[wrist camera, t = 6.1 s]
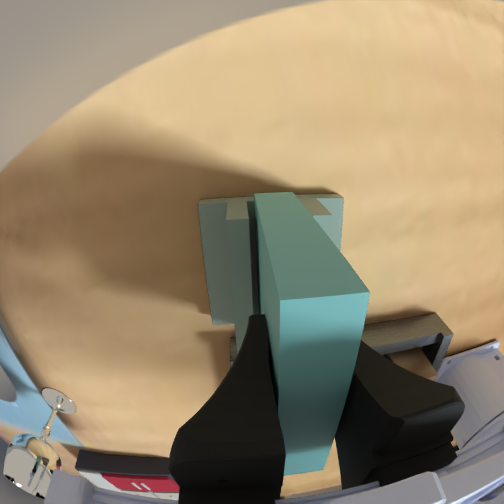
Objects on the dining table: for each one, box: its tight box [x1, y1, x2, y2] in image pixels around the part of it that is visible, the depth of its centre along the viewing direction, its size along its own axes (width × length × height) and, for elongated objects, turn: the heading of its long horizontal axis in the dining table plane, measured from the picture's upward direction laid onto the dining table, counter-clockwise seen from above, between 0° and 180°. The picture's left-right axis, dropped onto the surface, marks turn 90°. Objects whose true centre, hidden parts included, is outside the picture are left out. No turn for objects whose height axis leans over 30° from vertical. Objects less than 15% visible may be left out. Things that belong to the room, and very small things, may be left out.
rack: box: [230, 313, 453, 373], centre depth 22 cm, size 17×12×3 cm
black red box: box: [75, 450, 179, 500], centre depth 30 cm, size 11×4×15 cm
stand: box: [198, 194, 344, 354], centre depth 17 cm, size 8×8×4 cm
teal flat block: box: [254, 192, 370, 475], centre depth 13 cm, size 2×9×10 cm, turn 3°
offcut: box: [384, 347, 438, 381], centre depth 21 cm, size 3×8×4 cm, turn 2°
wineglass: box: [4, 388, 76, 499], centre depth 19 cm, size 6×6×12 cm
